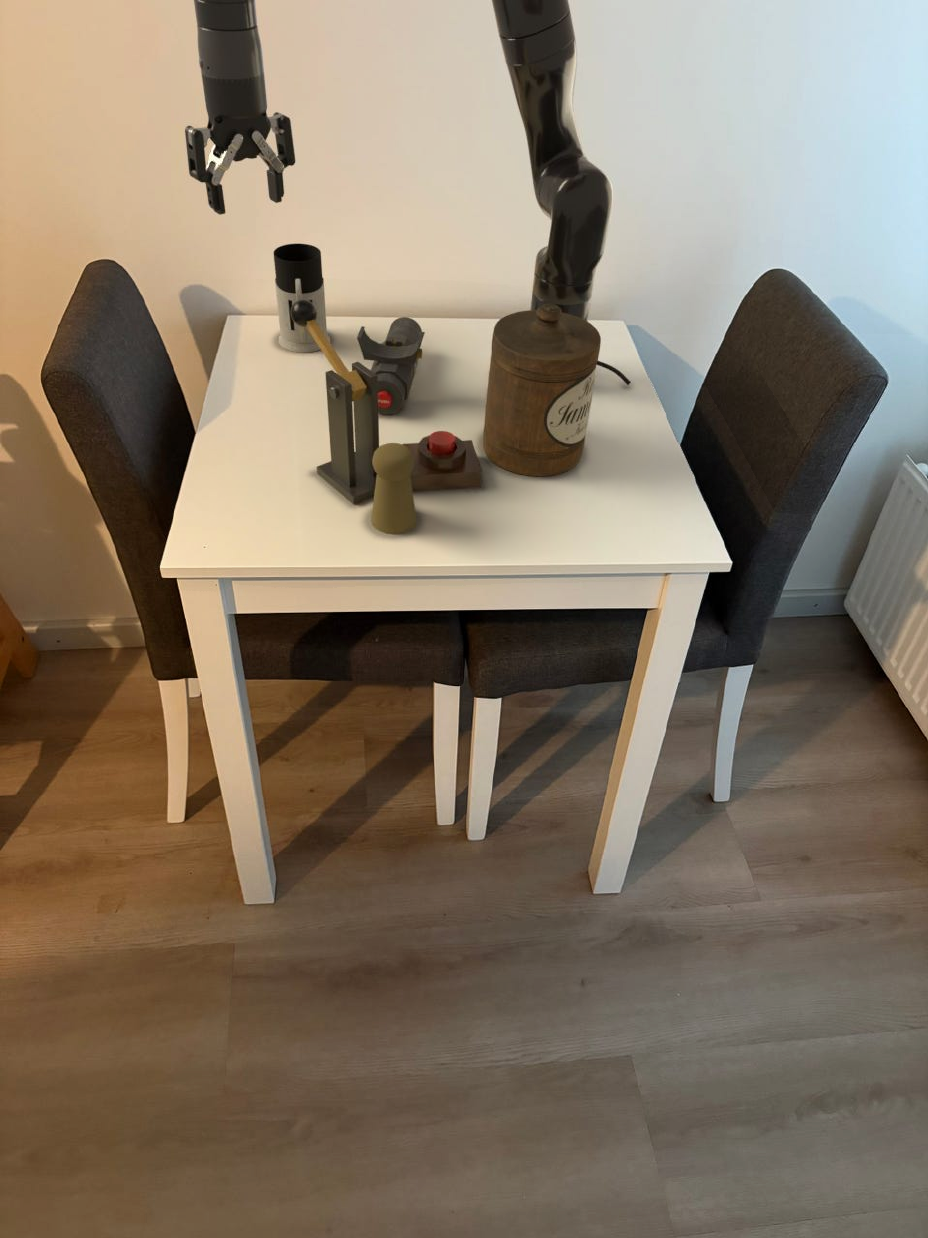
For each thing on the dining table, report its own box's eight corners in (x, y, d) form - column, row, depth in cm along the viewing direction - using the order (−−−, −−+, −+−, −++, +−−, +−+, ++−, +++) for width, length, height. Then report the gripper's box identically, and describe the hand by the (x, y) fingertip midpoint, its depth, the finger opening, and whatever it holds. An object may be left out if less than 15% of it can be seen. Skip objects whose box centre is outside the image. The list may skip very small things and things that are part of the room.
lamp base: (470, 455, 129) (472, 428, 126) (480, 487, 124) (482, 460, 121) (402, 459, 128) (402, 432, 125) (409, 492, 122) (409, 464, 119)
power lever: (283, 315, 116) (288, 297, 113) (305, 308, 118) (310, 290, 115) (343, 406, 114) (349, 390, 111) (365, 398, 116) (372, 383, 113)
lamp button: (452, 440, 124) (453, 430, 123) (456, 455, 122) (457, 444, 121) (427, 442, 124) (427, 431, 123) (430, 456, 121) (431, 445, 120)
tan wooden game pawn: (370, 506, 119) (368, 436, 112) (415, 506, 120) (416, 435, 112) (371, 534, 115) (368, 463, 107) (417, 534, 115) (418, 462, 108)
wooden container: (571, 486, 125) (594, 339, 110) (470, 464, 128) (479, 318, 112) (591, 433, 135) (615, 292, 120) (497, 414, 138) (509, 274, 123)
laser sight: (434, 352, 151) (435, 295, 145) (415, 422, 135) (416, 361, 128) (377, 347, 152) (376, 290, 145) (352, 415, 136) (349, 355, 129)
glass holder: (329, 328, 156) (324, 241, 146) (331, 367, 146) (326, 277, 136) (278, 328, 155) (269, 241, 145) (277, 368, 145) (267, 278, 135)
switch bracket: (317, 473, 124) (308, 366, 113) (358, 457, 128) (354, 351, 116) (353, 505, 119) (348, 396, 108) (395, 487, 123) (395, 380, 112)
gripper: (193, 82, 103) (213, 226, 114) (299, 68, 110) (308, 205, 121) (163, 67, 107) (186, 208, 118) (267, 55, 114) (279, 188, 125)
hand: (248, 206), depth 120 cm, fingers open, 8 cm apart
